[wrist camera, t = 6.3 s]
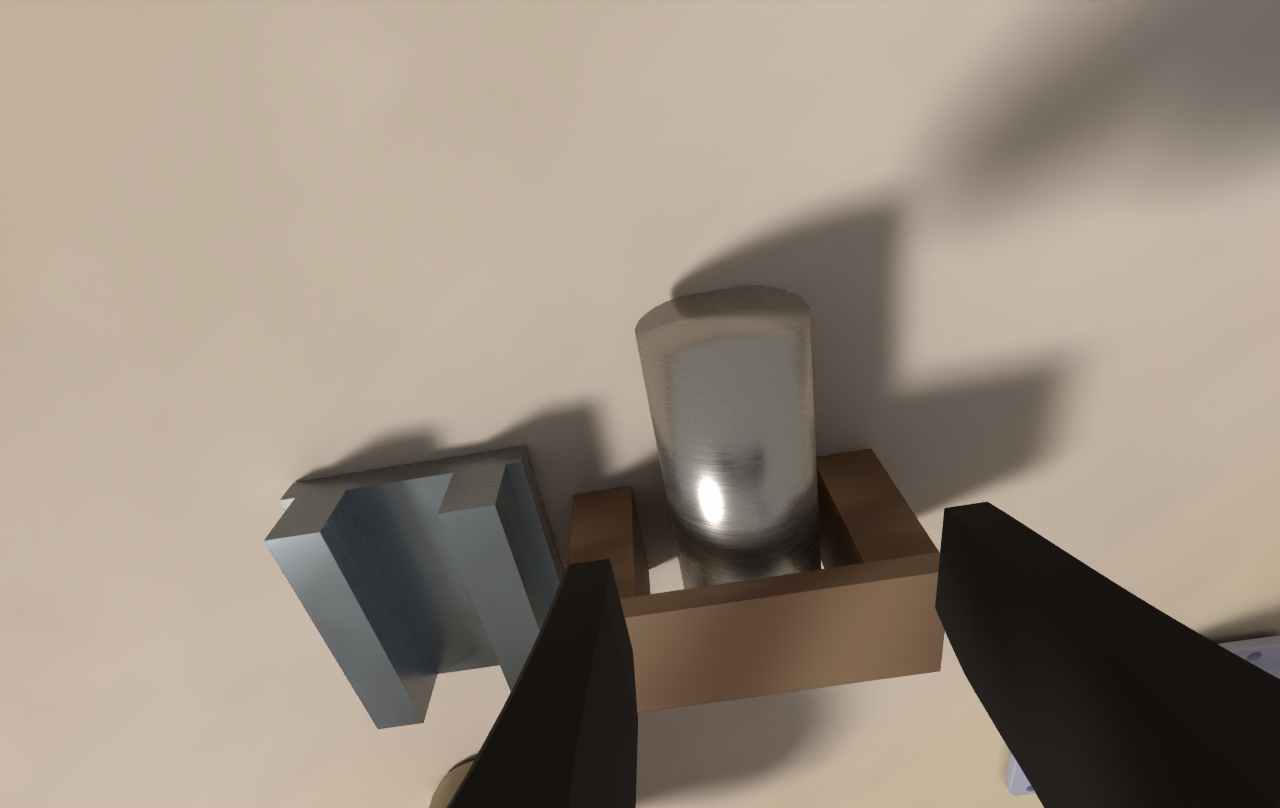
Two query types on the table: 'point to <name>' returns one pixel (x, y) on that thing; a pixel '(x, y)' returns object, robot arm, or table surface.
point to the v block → (421, 572)
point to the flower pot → (449, 786)
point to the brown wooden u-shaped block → (780, 599)
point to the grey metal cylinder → (735, 431)
